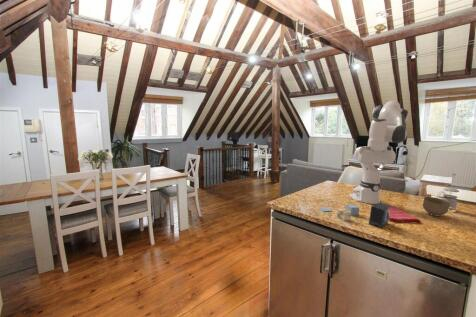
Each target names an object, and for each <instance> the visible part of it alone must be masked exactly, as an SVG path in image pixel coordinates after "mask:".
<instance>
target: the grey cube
mask: <svg viewBox="0 0 476 317" xmlns="http://www.w3.org/2000/svg"><path fill="white" fill-rule="evenodd" d="M345 209H346V210H349V211H351V216H359V212H360V207H359V206H358V205H357V204H356V205H355V204H346V208H345Z"/></svg>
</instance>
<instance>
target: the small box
mask: <svg viewBox="0 0 476 317" xmlns="http://www.w3.org/2000/svg"><path fill="white" fill-rule="evenodd" d="M372 205H373V206H372ZM372 205H371V207H370V213H369V219H368V220H369V221H368V224H369V225H371V226H375V227H377V228H383V227H385V226H386V225H388V224H389V220H388V218H389V211H390V207H391V206H390V205H388V204H384V203H382V202H380V203H377V204H372ZM387 223H388V224H387ZM382 226H383V227H382Z"/></svg>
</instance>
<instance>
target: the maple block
mask: <svg viewBox="0 0 476 317" xmlns="http://www.w3.org/2000/svg"><path fill="white" fill-rule="evenodd" d="M351 217H352V215H351V211H349V210H346V208H340V209H337V213H336V218H337V219H339V220H341V221H343V222H345V221H351Z"/></svg>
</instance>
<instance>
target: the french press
mask: <svg viewBox="0 0 476 317" xmlns="http://www.w3.org/2000/svg"><path fill="white" fill-rule="evenodd" d="M451 175H452V178H454V176H456V173H455V172H453V173H451ZM453 182H454V179H452V182H451V184H453ZM442 189H443V190H444V191H442V190H440V192H439V193H438V194H437V197H436V198H439V199H442V200H445V201H447V202H449V203H450V205H449V207H452V208H448V209H449V210H455V209H456V210H457V203H458V196H456V195H453V194H451V193H459V192H460V190H458V189H457V188H454V187H453V185H451V187H449V186H448V187H444V188H442ZM446 192H450V193H449V194H447V193H446ZM445 193H446V194H445ZM441 194H442V196H441ZM440 196H441V198H440ZM453 208H454V209H453Z"/></svg>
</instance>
